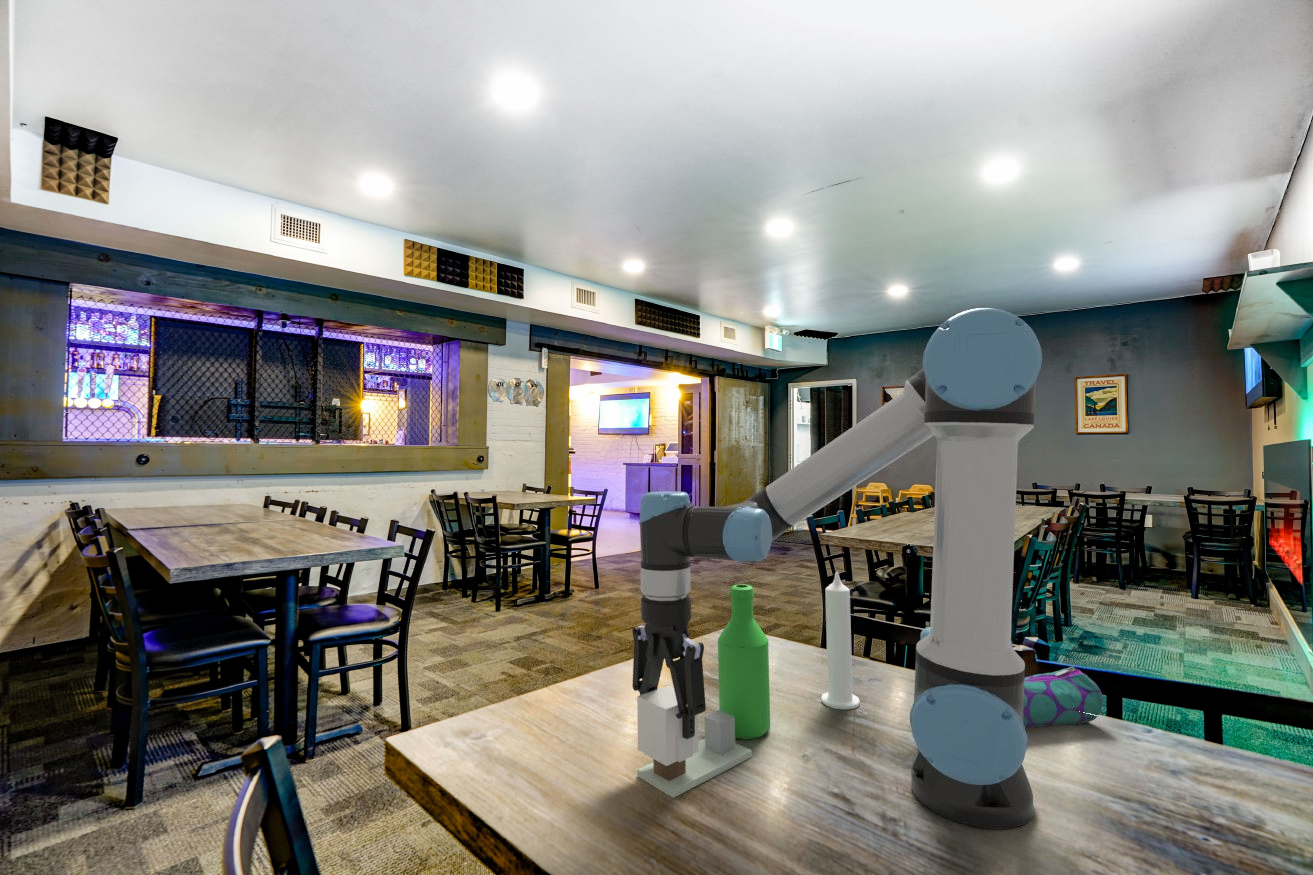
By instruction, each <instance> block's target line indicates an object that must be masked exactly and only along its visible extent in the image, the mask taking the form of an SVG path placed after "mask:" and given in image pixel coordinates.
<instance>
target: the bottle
mask: <svg viewBox="0 0 1313 875" xmlns="http://www.w3.org/2000/svg"><path fill="white" fill-rule="evenodd" d="M729 592H730V593H729V596H730V608H731V618H730V620H729V621H728V623H727V624H726V626H725V628H724V629H723V630H722V632H721V633H720V635H719V636H718V639H717V662H718V665H717V666H718V668H717V669H718V702H719V703H718V705H719V709H718V711H719V710H720V711H722V712H724V713H727V714H729V715H732V716H734V717H735V739H736V738H737V739H742V740H753V739H757V738H759V737H762V736H763V735H765V734H766V733H767V732H768V731H769V730H770V729H771V707H770V706H771V705H770V704H771V701H770V700H771V699H770V698H771V695H770V657H769V656H770V655H769V639H768V637H767V635H766V634H765V633H764V631H763V629H761V627H760V625H759V624H758V623H757V621H756V620H755V618H754V602H753V601H754V597H755V592H754V588H753V586H751V585H749V584H743V583H742V584H735V585H732V586H731V587H730V591H729Z"/></svg>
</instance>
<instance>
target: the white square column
mask: <svg viewBox="0 0 1313 875" xmlns="http://www.w3.org/2000/svg"><path fill="white" fill-rule="evenodd" d="M636 698H637V700H636V701H637V704H636V705H637V708H636V709H637V750H638V751H639V752H641V753H643V754H644V755H646V756H647V757H650V758H652V759H655V760H656V761H658V762H660V763H662V764H663V765H665V766H668V765H670V764H672V763H674V762H677V761H676V726H675V715H676V714H678V713H679V709H678V704H677V700H676V695H675V691H674V686H672V685H669V684H668V685H666V686H662V687H660V688H659V687H658V688H657V690H654V691H651V692H648V693H645V694H642V695H640V694H639V695H637V697H636ZM686 706H687V705H686ZM698 741H699V714H697V715H695V735H694V737H693V754H694V753H696V752H698Z"/></svg>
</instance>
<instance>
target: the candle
mask: <svg viewBox="0 0 1313 875" xmlns="http://www.w3.org/2000/svg"><path fill="white" fill-rule="evenodd" d="M824 590H825V595H824V596H825V623H826V624H825V627H826V631H825V632H826V654H827V655H826V657H827V659H826V660H827V661H826V663H827V664H826V665H827V669H826V670H827V692H824V693H823V694H821V696H820V697H821V702H822V703H823V704H824V705H825V706H826V707H829V708H831V709H835V710H836V709H837V710H842V711H843V710H847V711H848V710H853V709H856V708H858V707H859V706H860V699H859V697H858V696H856V695H855V694H853V666H852V665H853V663H852V658H853V657H852V634H851V633H852V630H851V626H852V625H851V597H850V596H851V594H850V593H851V592H850V588H849V587H847V586H846V585H845V584H843V583H842V580H841V578H840V573H839V571H836V572H835V573H834V578H833V581H832V583H830V584H829V585H828V586H827V587H825V589H824Z"/></svg>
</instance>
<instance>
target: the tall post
mask: <svg viewBox="0 0 1313 875" xmlns="http://www.w3.org/2000/svg"><path fill="white" fill-rule="evenodd" d="M652 759H653V758H652ZM652 762H653V764H654V773H656V774H658V775H659V776H661V777H663V778H664V779H666V780H668V781H670V780H672V779H674V778H676V777H678V776H680V775H682V774H684V773H686V759H685V760H683V761H681V762H678V761H677V762H674V763H672V764H670V765H668V766H665V765H663V764H662V763H660V762H658V761H656V760H655V759H653V761H652Z"/></svg>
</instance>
